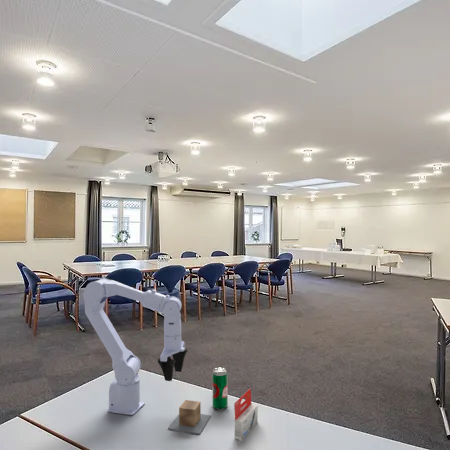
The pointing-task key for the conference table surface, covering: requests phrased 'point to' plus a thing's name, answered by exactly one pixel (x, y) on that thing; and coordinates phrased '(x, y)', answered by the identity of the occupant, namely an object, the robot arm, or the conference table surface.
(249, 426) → the ink cartridge box
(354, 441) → the conference table surface
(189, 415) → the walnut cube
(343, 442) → the conference table surface
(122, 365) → the robot arm
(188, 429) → the pad
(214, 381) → the soda can
